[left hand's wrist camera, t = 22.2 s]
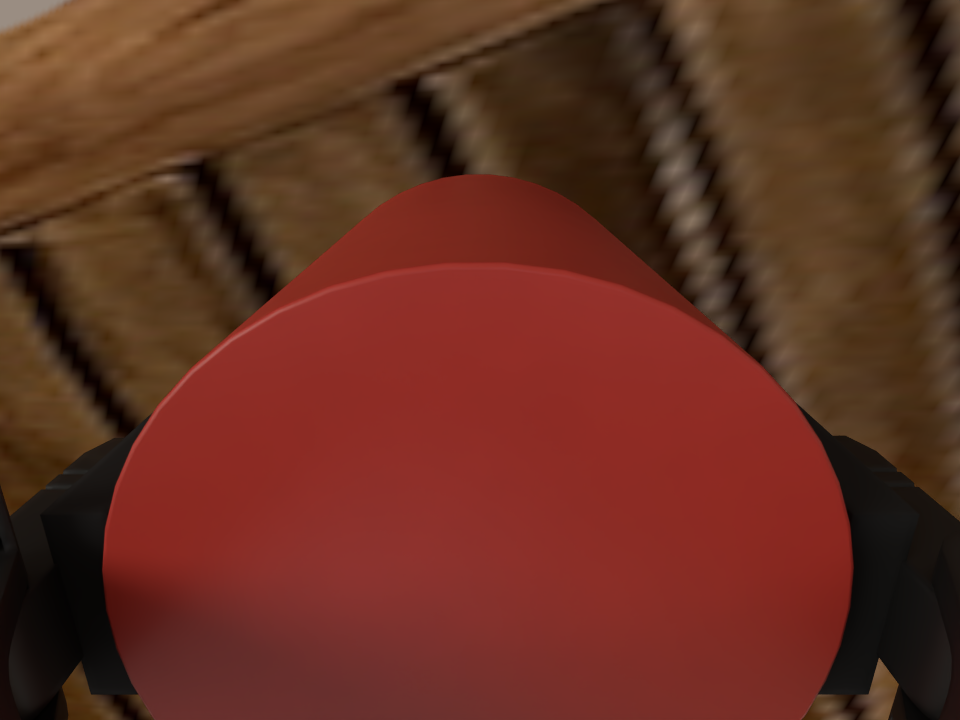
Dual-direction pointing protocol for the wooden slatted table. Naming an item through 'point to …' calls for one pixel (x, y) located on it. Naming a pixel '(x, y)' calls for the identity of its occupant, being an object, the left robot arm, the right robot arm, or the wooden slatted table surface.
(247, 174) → the wooden slatted table surface
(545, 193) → the can
